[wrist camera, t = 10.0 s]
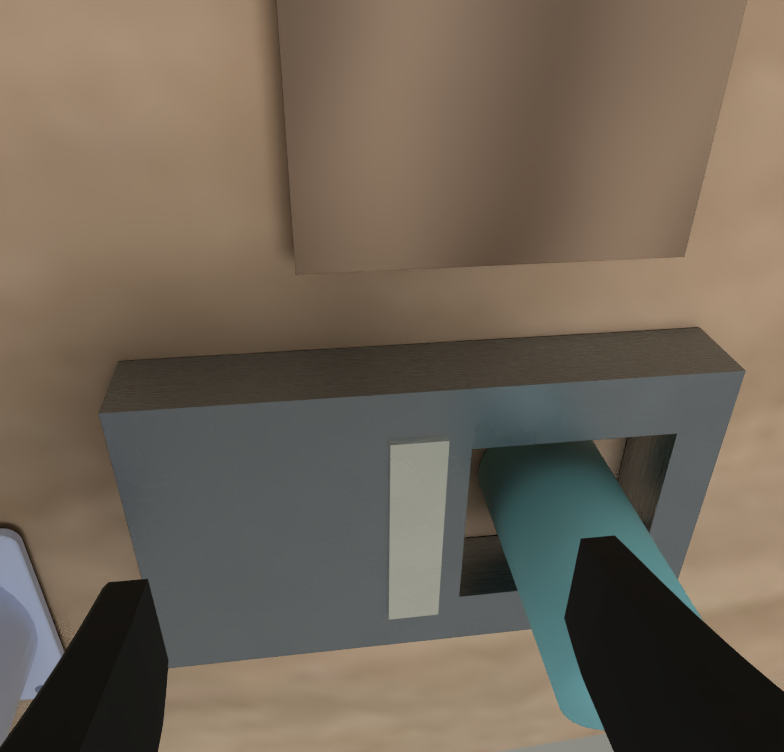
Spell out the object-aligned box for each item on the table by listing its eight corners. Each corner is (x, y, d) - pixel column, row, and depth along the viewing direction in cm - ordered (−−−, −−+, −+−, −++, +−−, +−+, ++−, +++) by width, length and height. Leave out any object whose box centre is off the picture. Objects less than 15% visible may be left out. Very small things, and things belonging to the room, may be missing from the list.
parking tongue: (294, 251, 18) (295, 274, 17) (272, -67, 15) (271, -67, 13) (657, 235, 19) (684, 256, 18) (724, -62, 16) (762, -62, 14)
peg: (474, 516, 24) (547, 738, 18) (482, 422, 22) (570, 634, 15) (585, 506, 25) (698, 719, 18) (604, 413, 23) (740, 615, 16)
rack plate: (175, 606, 25) (164, 673, 22) (118, 361, 19) (97, 418, 17) (635, 560, 27) (668, 619, 24) (699, 327, 21) (749, 374, 19)
